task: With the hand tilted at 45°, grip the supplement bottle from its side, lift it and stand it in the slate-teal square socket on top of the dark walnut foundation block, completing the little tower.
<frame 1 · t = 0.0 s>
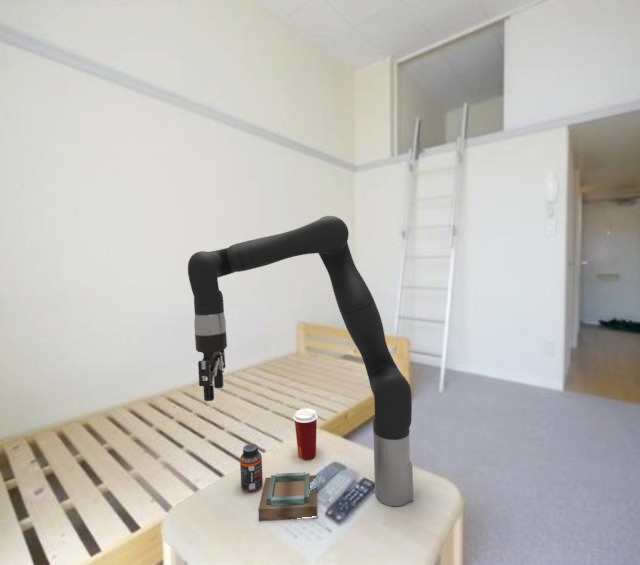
hand: (214, 393, 87), 29 cm above the table, tool pointing down, fingers open, 8 cm apart
walnut foundation: (289, 502, 89), on the table
supplement bottle: (252, 487, 96), on the table
paper cup: (307, 455, 110), on the table
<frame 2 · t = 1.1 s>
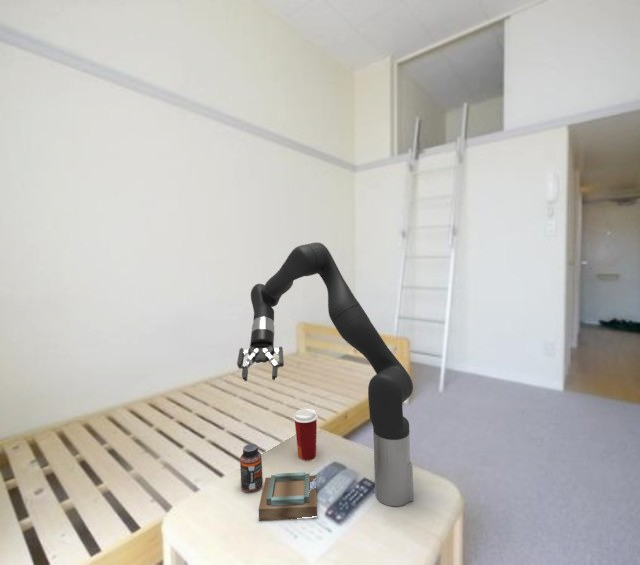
hand: (259, 379, 104), 27 cm above the table, tool tilted 45°, fingers open, 8 cm apart
nothing on the table moved.
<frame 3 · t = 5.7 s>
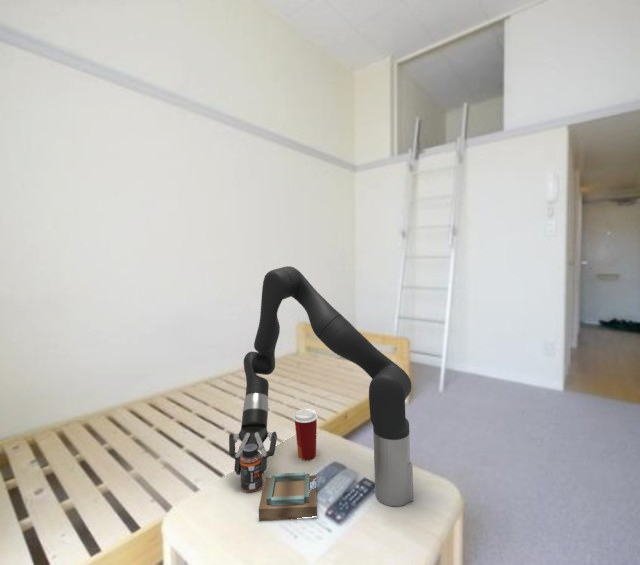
hand: (250, 473, 94), 5 cm above the table, tool tilted 45°, fingers closed on supplement bottle, 6 cm apart
supplement bottle: (252, 487, 96), on the table, touching gripper
everything else where it was.
when the fingers open (9 cm above the table, at t = 11.3 s): supplement bottle drops 2 cm, resting on walnut foundation.
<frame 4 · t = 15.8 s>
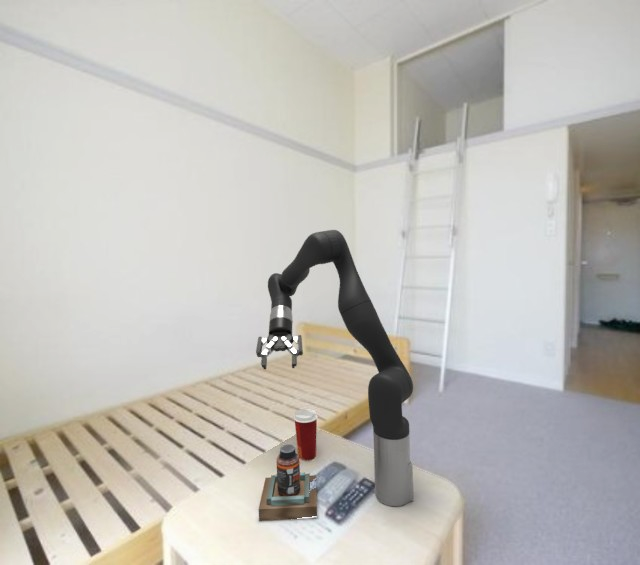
hand: (279, 367, 102), 31 cm above the table, tool tilted 45°, fingers open, 8 cm apart
supplement bottle: (289, 491, 89), point 3 cm above the table, touching walnut foundation
everything else where it was.
at the end: supplement bottle 0.2 cm off-centre on the walnut foundation, point 2.8 cm above the walnut foundation's base; supplement bottle tilted 0°; the gripper is holding nothing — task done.
